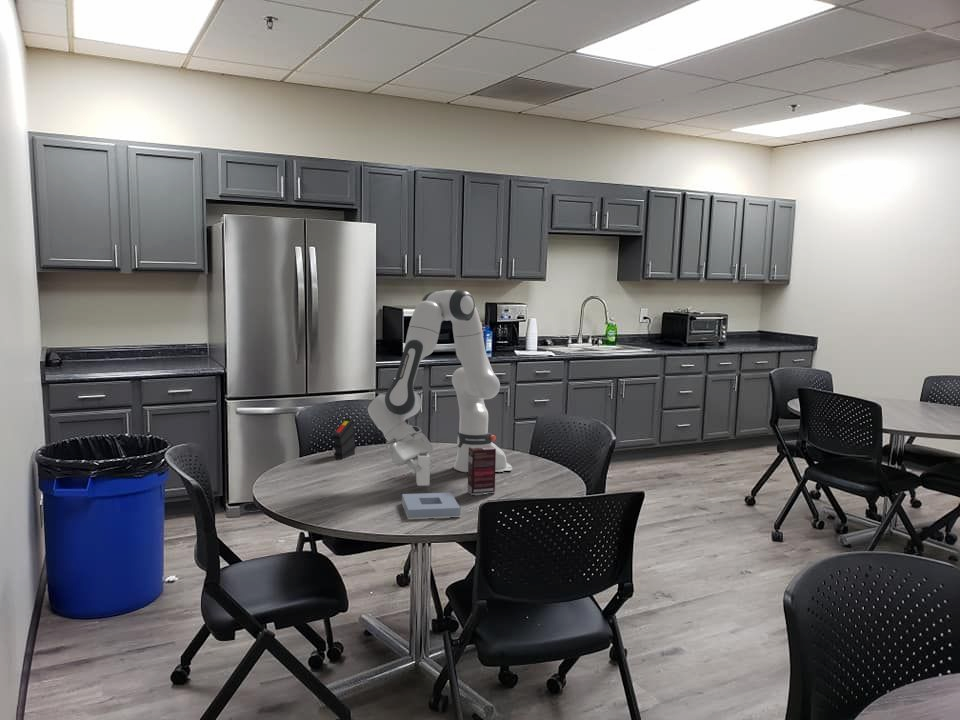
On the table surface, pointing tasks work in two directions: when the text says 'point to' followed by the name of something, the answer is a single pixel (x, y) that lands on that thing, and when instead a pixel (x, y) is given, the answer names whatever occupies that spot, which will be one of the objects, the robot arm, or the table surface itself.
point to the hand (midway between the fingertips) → (424, 468)
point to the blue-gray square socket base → (430, 505)
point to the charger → (423, 469)
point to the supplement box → (481, 470)
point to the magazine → (344, 439)
